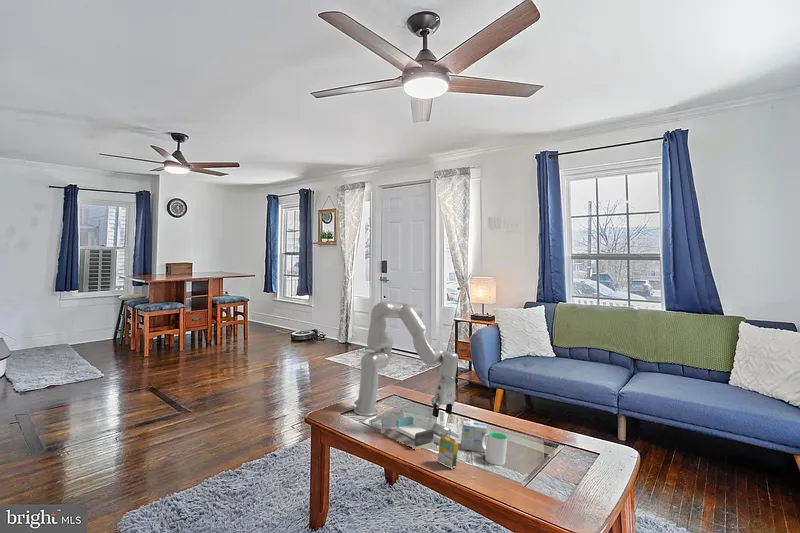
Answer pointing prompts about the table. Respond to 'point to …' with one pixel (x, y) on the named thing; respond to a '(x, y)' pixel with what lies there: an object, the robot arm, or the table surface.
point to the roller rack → (453, 435)
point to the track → (420, 441)
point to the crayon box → (448, 451)
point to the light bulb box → (473, 436)
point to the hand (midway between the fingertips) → (441, 415)
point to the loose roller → (441, 430)
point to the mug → (495, 447)
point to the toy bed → (408, 427)
